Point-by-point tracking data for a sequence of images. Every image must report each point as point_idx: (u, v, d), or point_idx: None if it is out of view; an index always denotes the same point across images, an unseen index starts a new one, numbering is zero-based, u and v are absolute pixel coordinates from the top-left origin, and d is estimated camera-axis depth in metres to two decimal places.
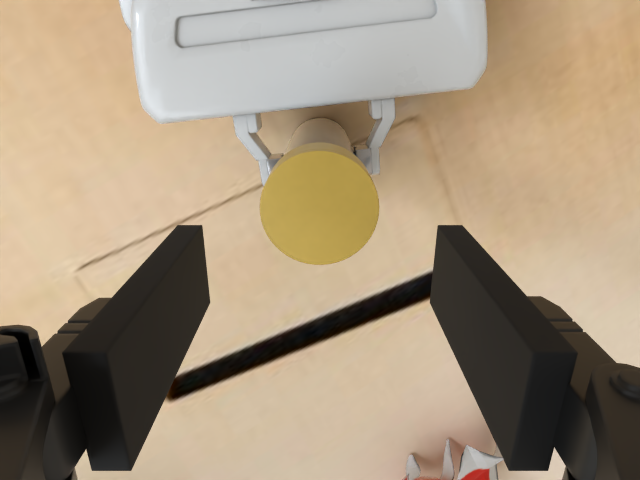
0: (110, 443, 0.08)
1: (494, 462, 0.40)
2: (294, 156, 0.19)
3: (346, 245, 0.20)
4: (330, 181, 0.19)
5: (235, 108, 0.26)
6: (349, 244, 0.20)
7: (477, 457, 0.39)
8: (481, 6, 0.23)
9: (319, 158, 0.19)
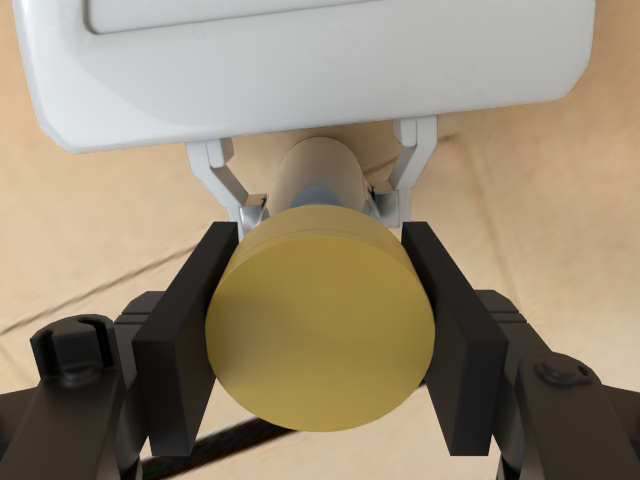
0: (171, 429, 0.08)
1: None
2: (269, 245, 0.09)
3: (370, 401, 0.11)
4: (343, 292, 0.10)
5: (187, 131, 0.16)
6: (376, 400, 0.11)
7: None
8: None
9: (320, 249, 0.09)
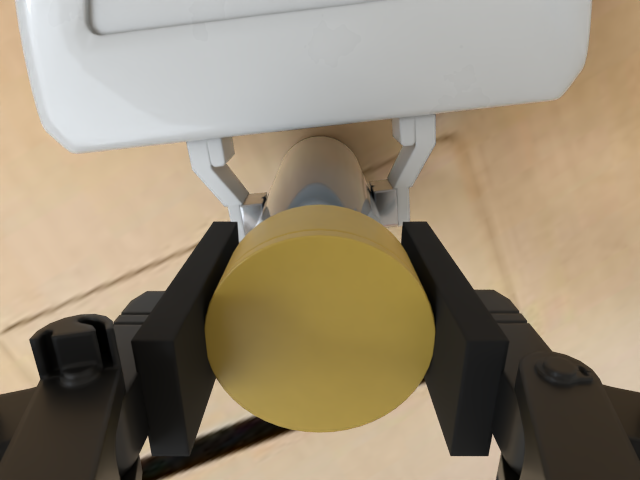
0: (171, 429, 0.08)
1: None
2: (264, 418, 0.11)
3: (351, 266, 0.09)
4: (261, 355, 0.10)
5: (188, 130, 0.16)
6: (346, 262, 0.09)
7: None
8: None
9: (240, 388, 0.10)
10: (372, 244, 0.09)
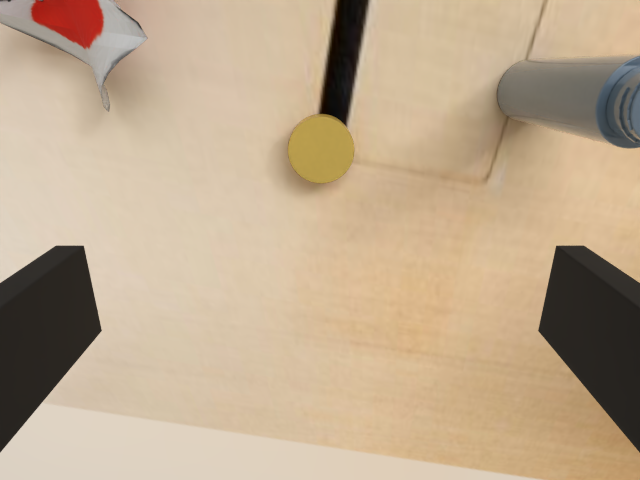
0: None
1: (103, 56, 0.30)
2: (353, 149, 0.35)
3: (296, 157, 0.35)
4: (333, 162, 0.35)
5: None
6: (296, 159, 0.35)
7: (124, 41, 0.29)
8: None
9: (347, 161, 0.35)
10: None
